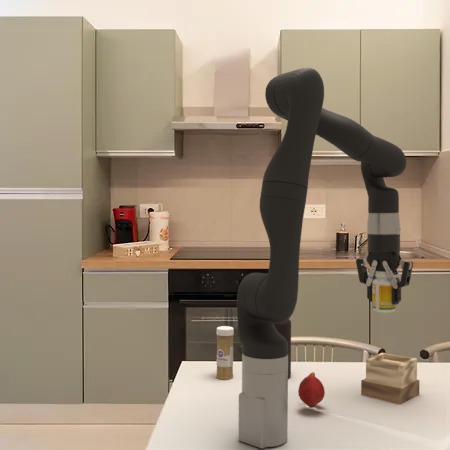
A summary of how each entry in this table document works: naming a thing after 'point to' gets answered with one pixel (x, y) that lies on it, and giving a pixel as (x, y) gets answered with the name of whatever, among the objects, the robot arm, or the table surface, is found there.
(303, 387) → the onion
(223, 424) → the table surface
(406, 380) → the tower top
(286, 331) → the vinegar
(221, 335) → the sprinkles bottle
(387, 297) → the supplement bottle
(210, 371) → the table surface
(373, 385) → the tower base
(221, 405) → the table surface
